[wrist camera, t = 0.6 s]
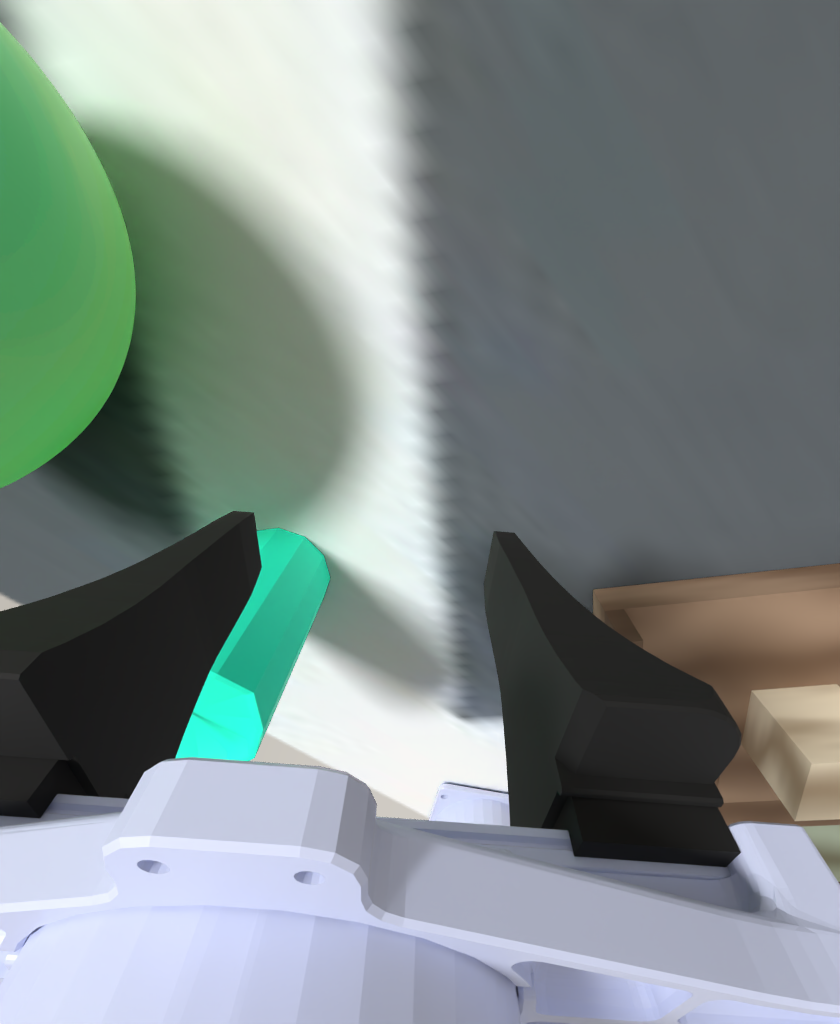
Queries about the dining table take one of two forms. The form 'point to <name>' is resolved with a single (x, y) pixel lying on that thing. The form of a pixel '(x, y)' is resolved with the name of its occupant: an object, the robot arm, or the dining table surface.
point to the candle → (259, 651)
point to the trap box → (742, 658)
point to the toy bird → (54, 271)
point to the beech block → (798, 747)
